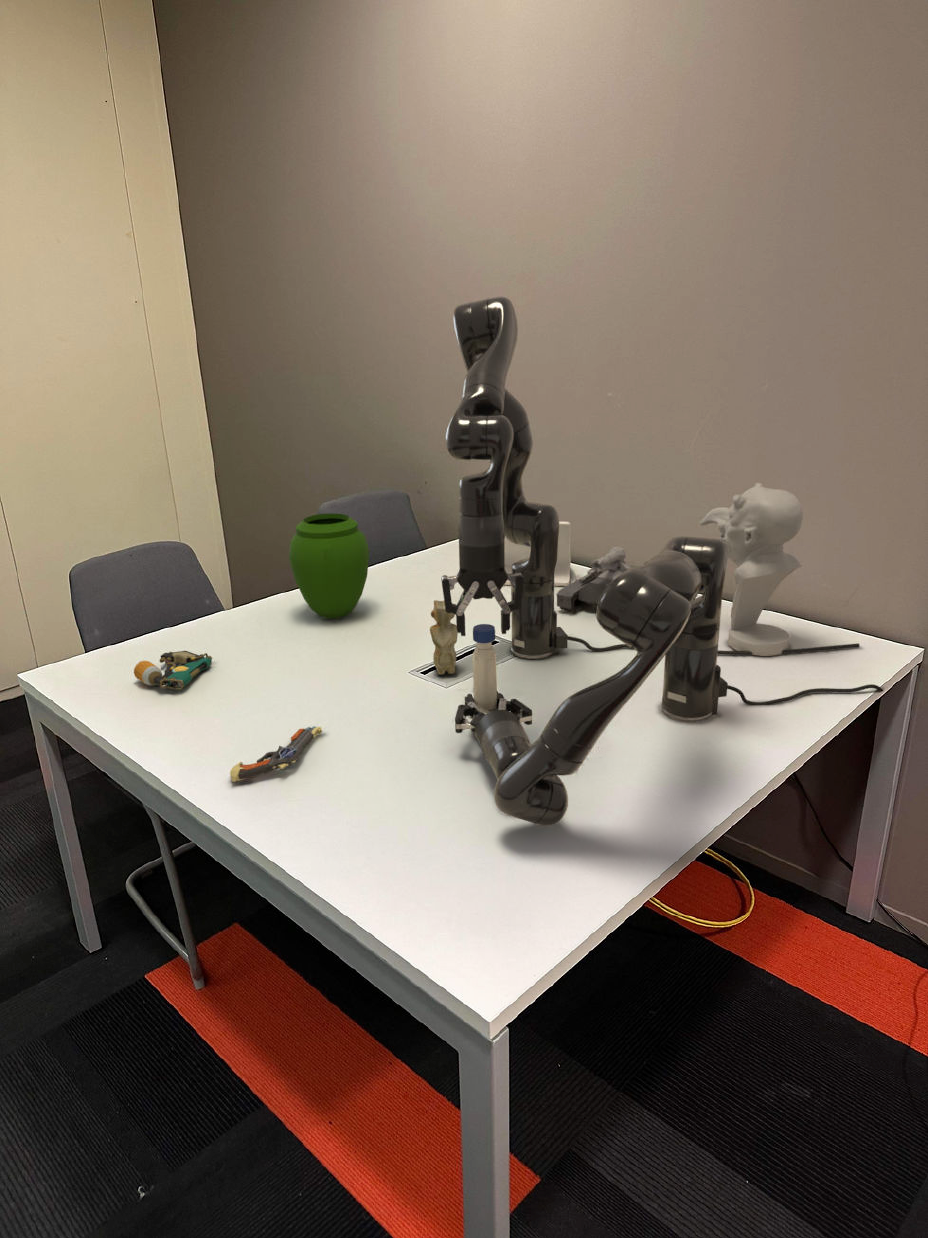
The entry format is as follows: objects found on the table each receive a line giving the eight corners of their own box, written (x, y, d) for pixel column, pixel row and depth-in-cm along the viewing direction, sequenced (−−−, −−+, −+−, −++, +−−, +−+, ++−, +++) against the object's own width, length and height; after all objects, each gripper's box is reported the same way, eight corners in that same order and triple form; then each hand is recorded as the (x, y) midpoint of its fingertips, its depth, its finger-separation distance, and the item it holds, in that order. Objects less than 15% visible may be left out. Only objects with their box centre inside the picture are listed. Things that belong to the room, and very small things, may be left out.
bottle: (478, 742, 150) (476, 635, 143) (471, 731, 154) (468, 627, 147) (500, 738, 152) (499, 632, 144) (493, 727, 155) (491, 624, 148)
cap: (477, 644, 144) (476, 633, 143) (470, 637, 148) (469, 625, 147) (498, 641, 145) (498, 630, 144) (490, 634, 149) (490, 622, 148)
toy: (603, 584, 229) (605, 530, 224) (673, 597, 218) (677, 540, 213) (555, 612, 210) (556, 553, 205) (630, 627, 199) (633, 566, 194)
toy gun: (224, 771, 138) (281, 769, 136) (271, 724, 156) (322, 721, 154) (228, 786, 139) (285, 784, 137) (273, 737, 157) (324, 735, 155)
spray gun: (177, 659, 191) (231, 671, 185) (120, 684, 176) (176, 698, 171) (176, 641, 190) (230, 653, 184) (118, 665, 175) (174, 678, 169)
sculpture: (458, 662, 183) (456, 596, 178) (460, 676, 176) (457, 608, 171) (431, 663, 183) (428, 597, 177) (431, 677, 176) (428, 609, 171)
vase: (389, 608, 216) (383, 514, 208) (339, 633, 201) (330, 533, 192) (330, 596, 226) (322, 506, 218) (278, 619, 211) (267, 523, 202)
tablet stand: (569, 585, 229) (570, 524, 223) (476, 584, 232) (475, 523, 226) (570, 566, 246) (571, 508, 240) (484, 564, 249) (483, 507, 243)
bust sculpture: (728, 615, 205) (741, 470, 193) (809, 647, 185) (829, 488, 173) (677, 628, 198) (686, 478, 186) (755, 663, 178) (772, 498, 166)
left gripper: (522, 531, 144) (522, 623, 150) (437, 534, 143) (440, 627, 149) (528, 543, 137) (527, 639, 143) (438, 546, 136) (442, 643, 142)
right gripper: (547, 716, 137) (520, 673, 153) (460, 726, 135) (442, 682, 151) (546, 757, 140) (520, 711, 156) (461, 768, 138) (443, 720, 153)
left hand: (483, 633), depth 146 cm, fingers open, 6 cm apart
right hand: (482, 697), depth 153 cm, fingers closed on bottle, 4 cm apart
